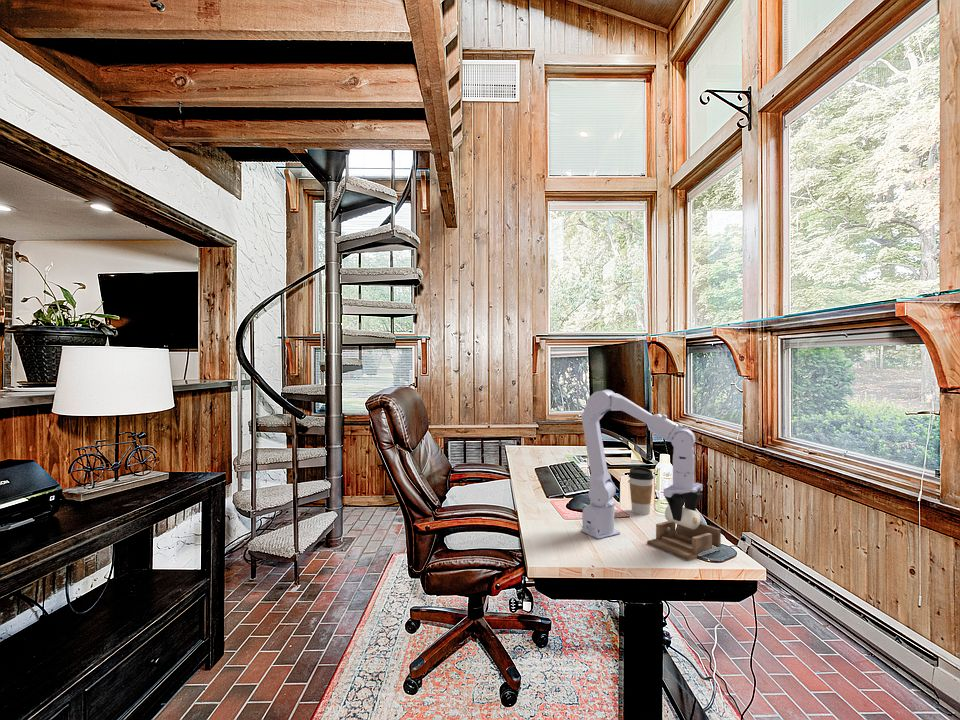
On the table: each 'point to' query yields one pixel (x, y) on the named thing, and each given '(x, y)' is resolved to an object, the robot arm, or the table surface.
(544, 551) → the table surface
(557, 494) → the table surface
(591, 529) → the robot arm
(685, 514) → the roll
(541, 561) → the table surface
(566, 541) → the table surface
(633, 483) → the coffee cup
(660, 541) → the holder
